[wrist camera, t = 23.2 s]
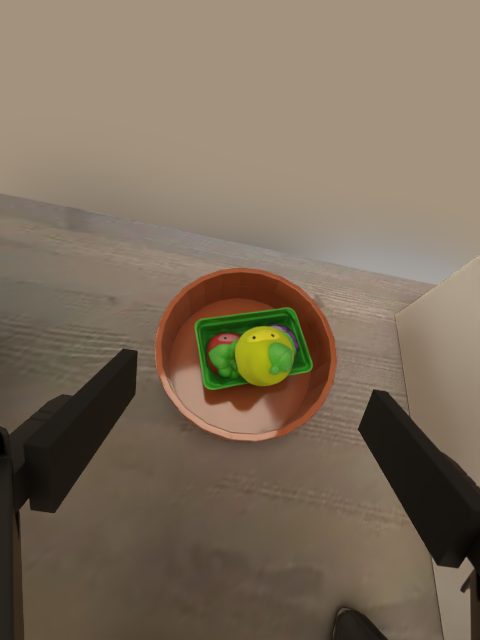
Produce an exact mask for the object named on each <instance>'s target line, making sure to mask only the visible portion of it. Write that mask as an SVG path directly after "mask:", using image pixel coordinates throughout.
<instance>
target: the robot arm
mask: <svg viewBox="0 0 480 640" xmlns="http://www.w3.org/2000/svg"><path fill="white" fill-rule="evenodd" d="M137 352H138V351H135V350H129V349H122V350H121V351H120V352H119V353H118V354H117V355H116V356H115V357H114V358H113V359H112V360H111V361H110V362H109V363H108V364H107V365H105V366H104V367H103V368H102V369H101V370H100V371H99V372H98V373H97V374H96V375H95V376H94V377H93V378H92V379H91V380H90V381H89V382H88V383H86V384H85V385H84V386H83V387H82V388H81V389H80V390H79V391H78V392H77V393H76V394H75V395H74V396H70V395H64V394H62V395H60V396H58V397H56V398H54V399H52V400H50V401H48V402H47V403H46V404H45V405H44V406H43V407H41V408H40V409H39V411H38V412H36V413H34V414H33V415H32V416H31V417H30V419H27V420H26V421H25V422H24V423H23V424H22V425H20V426H19V427H18V428H17V429H16V430H14V431H13V432H12V433H11V434H10V435H9V434H8V432H7V429H5V428H3V427H1V426H0V640H24V620H23V592H22V564H21V536H20V514H19V509H20V508H21V507H22V506H23V504H24V503H25V502H26V501H27V500H28V498H29V500H30V508H31V510H35V511H42V512H49V513H55V512H56V510H57V509H58V507H59V506H60V504H61V503H62V501H63V500H64V498H65V497H66V495H67V494H68V493H69V491H70V490H71V488H72V487H73V485H74V484H75V482H76V481H77V479H78V478H79V476H80V475H81V473H82V472H83V470H84V469H85V468H86V466H87V465H88V463H89V462H90V460H91V459H92V457H93V456H94V454H95V453H96V451H97V450H98V448H99V447H100V445H101V444H102V442H103V441H104V440H105V438H106V437H107V435H108V434H109V432H110V431H111V429H112V428H113V426H114V425H115V423H116V422H117V420H118V419H119V417H120V416H121V415H122V413H123V412H124V410H125V409H126V407H127V406H128V404H129V403H130V401H131V400H132V398H133V397H134V395H135V390H136V371H137ZM358 430H359V432H360V433H361V435H362V437H363V439H364V440H365V442H366V444H367V446H368V447H369V449H370V451H371V452H372V454H373V456H374V458H375V459H376V461H377V463H378V464H379V466H380V468H381V470H382V471H383V473H384V475H385V477H386V478H387V480H388V482H389V483H390V485H391V487H392V489H393V490H394V492H395V494H396V496H397V497H398V499H399V501H400V502H401V504H402V506H403V508H404V509H405V511H406V513H407V515H408V516H409V518H410V520H411V521H412V523H413V525H414V527H415V528H416V530H417V532H418V533H419V535H420V537H421V539H422V540H423V542H424V544H425V546H426V547H427V549H428V551H429V552H430V554H431V556H432V558H433V559H434V561H435V563H436V565H437V566H443V567H450V568H457V569H458V568H459V567H460V565H461V564H462V562H463V561H464V559H465V558H466V557H467V558H468V560H469V561H470V563H471V564H472V566H473V567H474V569H473V571H472V572H471V573H470V575H469V576H468V578H467V579H466V580H465V582H464V583H463V585H462V586H461V589H460V591H461V592H463V593H465V592H466V590H467V589H470V615H471V640H480V487H479V486H477V485H476V483H475V482H474V481H473V480H472V478H471V477H470V476H468V474H467V473H466V472H465V471H464V470H463V469H462V468H461V467H460V466H459V464H458V463H457V462H455V461H454V460H453V459H451V458H450V457H449V456H448V455H446V454H445V453H443V452H441V451H440V450H439V449H438V448H437V447H436V446H435V445H434V443H433V442H432V441H431V440H430V439H429V438H428V437H427V436H426V435H425V433H424V432H423V431H422V430H421V429H420V428H419V427H418V426H417V425H416V423H415V422H414V421H413V420H412V419H411V418H410V417H409V416H408V415H407V413H406V412H405V411H404V410H403V409H402V408H401V407H400V406H399V405H398V403H397V402H396V401H395V400H394V399H393V398H392V397H391V396H390V395H389V393H388V392H386V391H380V390H373V392H372V395H371V397H370V400H369V402H368V405H367V407H366V410H365V413H364V415H363V418H362V420H361V423H360V425H359V428H358Z"/></svg>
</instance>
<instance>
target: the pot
mask: <svg viewBox="0 0 480 640" xmlns="http://www.w3.org/2000/svg"><path fill="white" fill-rule="evenodd" d="M285 307H288V308H291V309H293V310H294V311H295V313H296V315H297V318H298V320H299V324H300V327H301V330H302V333H303V336H304V339H305V342H306V345H307V348H308V351H309V355H310V357H311V360H312V363H313V366H312V370H311V371H309V372H307V373H301V374H295V375H290V376H287V377H286V378H285V379H284V380H282V381H281V382H279V383H277V384H273V385H270V386H256V385H253V384H251V383H248V384H242V385H237V386H232V387H226V388H221V389H216V390H209V389H207V388H206V387H205V386H204V384H203V379H202V372H201V364H200V357H199V350H198V344H197V338H196V333H195V323H196V322H197V321H198V320H200V319H203V318H212V317H219V316H227V315H235V314H241V313H250V312H257V311H265V310H272V309H279V308H285ZM155 357H156V368H157V372H158V374H159V377H160V379H161V382H162V385H163V387H164V390H165V392H166V394H167V395H168V396H169V398H170V399H171V400H172V402H173V403H174V404H175V406H176V407H177V408H178V410H179V411H180V412H181V414H182V415H183V416H184V417H185V419H186V420H187V421H189V422H190V423H191V424H193V425H194V426H195V427H197V428H198V429H199V430H201V431H202V432H204V433H205V434H208V435H210V436H213V437H215V438H219V439H221V440H224V441H229V442H245V443H250V442H258V441H263V440H267V439H271V438H276V437H280V436H284V435H286V434H288V433H289V432H291V431H293V430H295V429H296V428H298V427H300V426H301V425H303V424H305V423H306V422H308V420H309V419H310V418H311V417H312V416H313V415H314V414H315V413H316V412H317V411H318V409H319V408H320V407H321V406H322V405H323V404H324V402H325V400H326V397H327V395H328V393H329V391H330V389H331V387H332V385H333V382H334V376H335V369H336V363H337V357H336V349H335V341H334V337H333V334H332V332H331V329H330V326H329V324H328V321H327V319H326V317H325V316H324V314H323V313H322V311H321V310H320V309H319V307H318V306H317V304H316V303H315V301H314V300H313V299H312V298H310V297H309V296H308V295H307V294H306V293H305V292H304V291H303V290H302V289H301V288H300V287H298V286H297V285H295V284H293V283H291V282H290V281H288V280H286V279H285V278H283V277H281V276H278V275H275V274H272V273H269V272H266V271H263V270H262V271H261V270H256V269H247V268H235V269H225V270H219V271H217V272H214V273H211V274H208V275H205V276H202V277H200V278H199V279H197V280H196V281H194V282H192V283H191V284H189V285H188V286H186V287H185V288H183V290H182V291H181V292H180V293H179V294H178V295H177V296H176V297H175V298H174V299H173V300H172V301H171V302H170V304H169V305H168V307H167V309H166V311H165V313H164V315H163V317H162V319H161V320H160V323H159V327H158V331H157V336H156V341H155Z"/></svg>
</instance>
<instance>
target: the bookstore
mask: <svg viewBox="0 0 480 640" xmlns="http://www.w3.org/2000/svg"><path fill="white" fill-rule="evenodd" d="M395 319H396V326H397V332H398V339H399V345H400V352H401V359H402V365H403V372H404V378H405V385H406V392H407V398H408V405H409V411H410V418H411V419H412V420H413V421H414V422H415V423H416V425H417V426H418V427H419V428H420V429H421V430H422V431H423V432H424V433H425V435H426V436H427V437H428V438H429V439H430V440H431V441H432V442H433V443H434V445H435V446H436V447H437V448H438V449H439V450H440V451H441V452H443V453H445V454H446V455H448V456H449V457H450V458H451V459H453V460H454V461H455V462H457V463H458V464H459V466H460V467H461V468H462V469H463V470H464V471H465V472H466V473H467V474H468V476H470V477H471V478H472V480H473V481H474V482H475V483H476V485H477V486H479V487H480V255H479V256H478V257H476V258H475V259H474V260H472V261H471V262H469V263H468V264H466V265H465V266H464V267H462V268H461V269H459V270H458V271H457V272H455V273H454V274H452V275H451V276H449V277H448V278H447V279H445V280H444V281H442V282H441V283H440V284H438V285H437V286H435V287H434V288H433V289H431V290H430V291H428V292H427V293H426V294H424V295H423V296H421V297H420V298H418V299H417V300H416V301H414V302H413V303H411V304H410V305H409V306H407V307H406V308H404V309H403V310H402V311H400V312H399V313H397V314H396V315H395ZM431 557H432V556H431ZM432 563H433V570H434V577H435V583H436V590H437V596H438V603H439V610H440V616H441V623H442V629H443V636H444V640H471V615H470V589H467V590H466V592H465V593H463V592H461V591H460V589H461V586H462V585H463V583H464V582H465V580H466V579H467V578H468V576H469V575H470V573H471V572H472V571H473V569H474V567H473V566H472V564H471V563H470V561H469V560H468V558H467V557H466V558H465V559H464V561H463V562H462V564H461V565H460V567H459V568H458V569H457V568H450V567H443V566H437V565H436V563H435V561H434V559H433V558H432Z"/></svg>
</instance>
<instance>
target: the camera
mask: <svg viewBox="0 0 480 640" xmlns="http://www.w3.org/2000/svg"><path fill="white" fill-rule="evenodd" d="M333 640H388V639H387V638H386V637H385V636H384V635H383V634H382V633H381V632H380V631H379V629H378V628H377V627H376V626H375V625H374V624H373V623H372V622H371V621H370V620H369V619H368V618H367V617H366V616H365V615H364V614H362V613H360V612H358V611H355V610H352V609H346V608H342V609H341V610H340V611H339V612H338V614H337V618H336V622H335V626H334V631H333Z"/></svg>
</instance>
